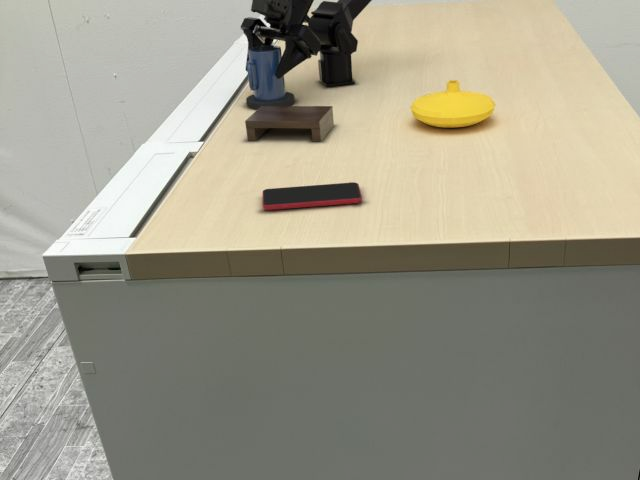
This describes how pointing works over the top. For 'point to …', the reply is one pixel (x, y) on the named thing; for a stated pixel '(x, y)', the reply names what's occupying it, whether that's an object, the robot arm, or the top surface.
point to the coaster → (282, 102)
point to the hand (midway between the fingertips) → (262, 74)
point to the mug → (265, 73)
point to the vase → (452, 107)
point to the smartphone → (311, 196)
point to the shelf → (291, 120)
